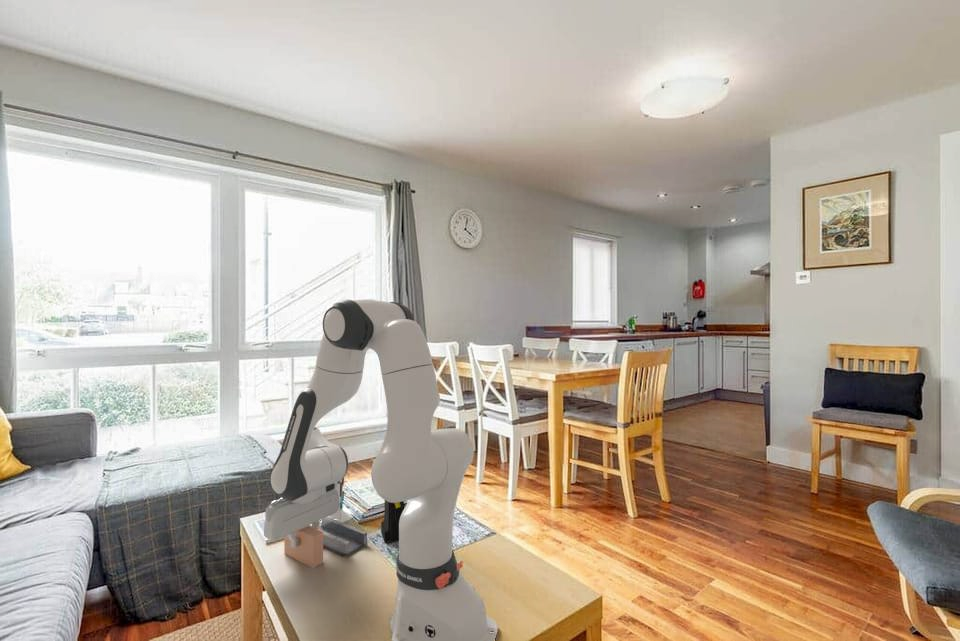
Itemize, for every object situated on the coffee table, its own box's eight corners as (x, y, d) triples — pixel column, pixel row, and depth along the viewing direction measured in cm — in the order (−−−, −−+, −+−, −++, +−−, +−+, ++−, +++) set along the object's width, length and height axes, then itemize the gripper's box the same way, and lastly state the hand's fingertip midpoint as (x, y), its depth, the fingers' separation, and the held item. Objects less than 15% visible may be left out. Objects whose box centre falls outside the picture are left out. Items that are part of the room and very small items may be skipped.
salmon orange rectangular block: (323, 562, 114) (323, 531, 114) (313, 568, 112) (313, 536, 111) (294, 548, 121) (294, 519, 120) (284, 553, 118) (284, 524, 118)
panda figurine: (352, 524, 135) (352, 475, 134) (313, 527, 132) (313, 477, 132) (355, 507, 146) (355, 462, 146) (318, 510, 144) (319, 464, 144)
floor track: (367, 544, 123) (367, 532, 123) (345, 557, 117) (345, 544, 116) (324, 527, 132) (324, 515, 132) (303, 537, 126) (303, 525, 126)
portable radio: (407, 541, 125) (407, 453, 124) (385, 545, 123) (385, 455, 122) (401, 528, 132) (401, 445, 132) (380, 532, 130) (381, 447, 129)
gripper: (273, 507, 105) (273, 564, 106) (342, 480, 123) (342, 529, 123) (258, 500, 109) (258, 556, 109) (327, 475, 126) (327, 523, 126)
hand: (303, 542), depth 116 cm, fingers open, 3 cm apart
